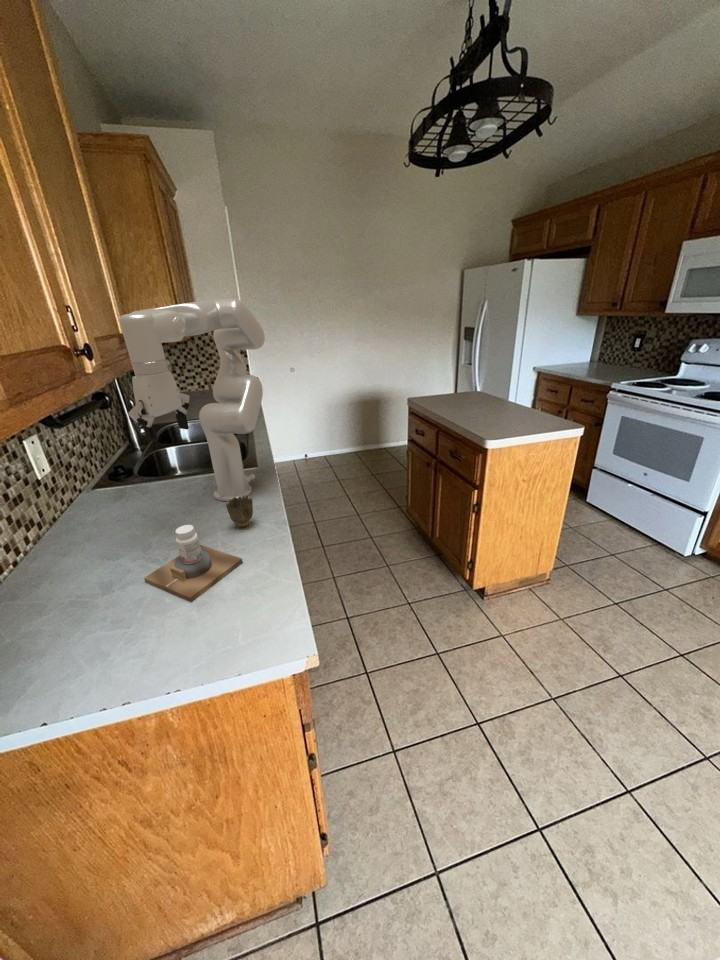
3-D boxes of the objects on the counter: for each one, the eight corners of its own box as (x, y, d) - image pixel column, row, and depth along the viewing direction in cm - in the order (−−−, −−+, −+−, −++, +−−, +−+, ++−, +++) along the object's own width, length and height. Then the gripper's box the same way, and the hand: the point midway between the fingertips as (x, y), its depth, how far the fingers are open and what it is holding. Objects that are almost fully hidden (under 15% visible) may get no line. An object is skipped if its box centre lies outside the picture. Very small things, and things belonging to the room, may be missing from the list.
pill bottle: (179, 557, 96) (171, 528, 93) (199, 550, 99) (192, 521, 95) (184, 567, 92) (176, 536, 89) (205, 559, 95) (197, 529, 92)
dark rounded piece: (249, 533, 112) (244, 508, 109) (225, 531, 114) (220, 506, 111) (260, 520, 119) (256, 496, 116) (238, 518, 121) (233, 495, 117)
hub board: (198, 547, 107) (195, 535, 105) (242, 562, 100) (240, 550, 98) (145, 582, 94) (141, 569, 92) (191, 602, 87) (187, 588, 85)
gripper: (169, 361, 104) (185, 423, 112) (107, 374, 91) (130, 444, 98) (189, 362, 101) (204, 425, 109) (128, 376, 87) (150, 447, 95)
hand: (169, 434), depth 103 cm, fingers open, 9 cm apart
